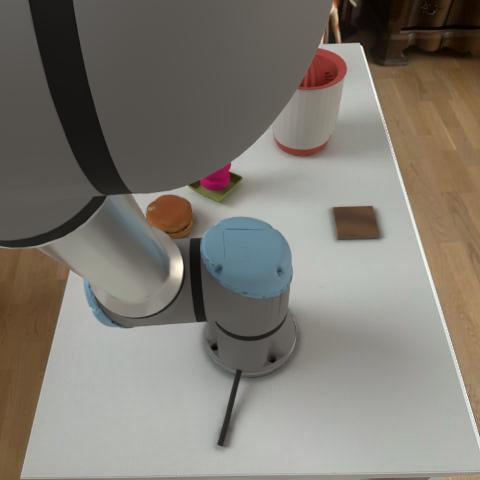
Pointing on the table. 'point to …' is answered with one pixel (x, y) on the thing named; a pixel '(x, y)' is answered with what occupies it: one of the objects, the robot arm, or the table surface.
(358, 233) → the wooden coaster
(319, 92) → the citrus juicer
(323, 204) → the table surface
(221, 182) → the pepper mill
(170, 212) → the burger
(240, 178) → the olive green square tray
